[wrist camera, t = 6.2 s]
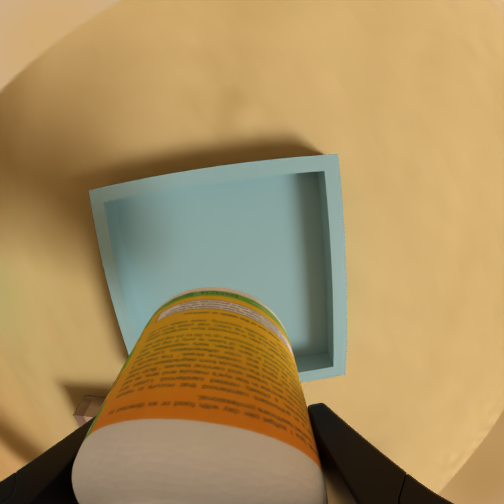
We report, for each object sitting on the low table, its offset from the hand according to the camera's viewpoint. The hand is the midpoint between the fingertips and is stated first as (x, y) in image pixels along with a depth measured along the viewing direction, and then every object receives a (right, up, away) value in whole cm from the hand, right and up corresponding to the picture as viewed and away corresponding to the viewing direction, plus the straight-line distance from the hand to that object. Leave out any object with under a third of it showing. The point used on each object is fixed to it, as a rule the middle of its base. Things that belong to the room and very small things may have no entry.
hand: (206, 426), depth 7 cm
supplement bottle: (0, +1, +4) cm, 4 cm away
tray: (0, +3, +11) cm, 12 cm away
